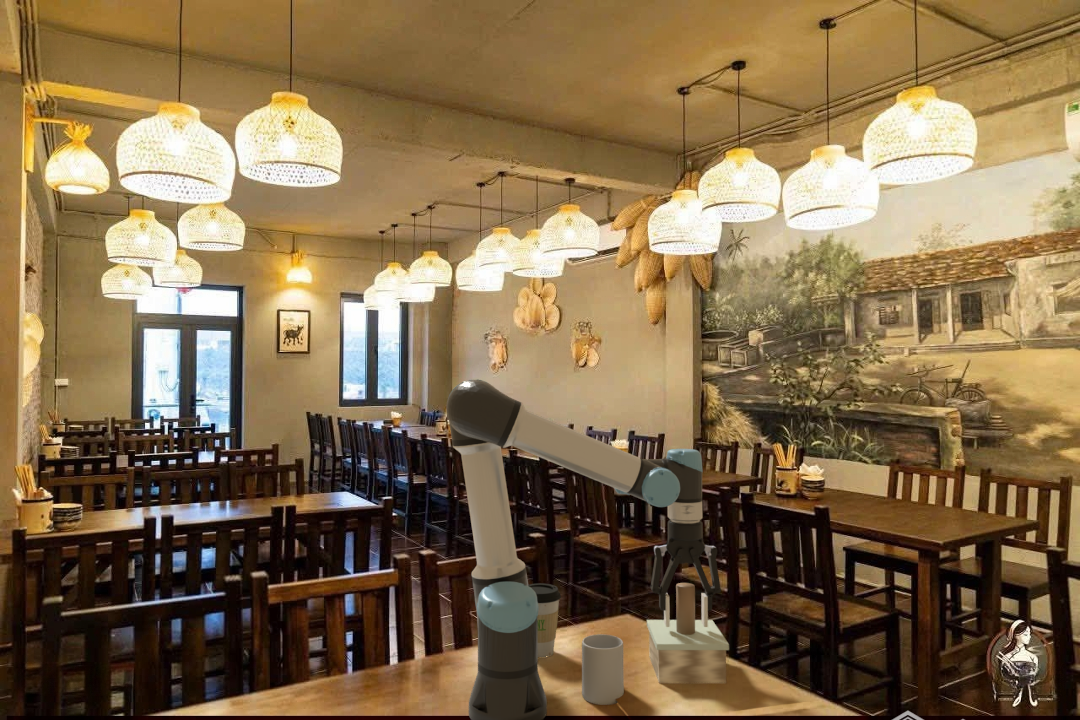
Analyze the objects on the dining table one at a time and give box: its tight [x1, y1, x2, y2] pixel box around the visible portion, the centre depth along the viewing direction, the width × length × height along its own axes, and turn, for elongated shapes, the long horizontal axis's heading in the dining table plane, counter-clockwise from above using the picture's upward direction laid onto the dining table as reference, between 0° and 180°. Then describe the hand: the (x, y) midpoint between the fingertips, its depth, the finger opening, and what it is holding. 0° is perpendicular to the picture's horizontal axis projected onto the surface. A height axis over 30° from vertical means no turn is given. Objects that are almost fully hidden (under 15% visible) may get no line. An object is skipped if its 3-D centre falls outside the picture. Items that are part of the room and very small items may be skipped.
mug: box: [581, 633, 625, 706], centre depth 147 cm, size 12×8×11 cm
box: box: [648, 631, 727, 684], centre depth 156 cm, size 14×14×8 cm
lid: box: [646, 582, 730, 651], centre depth 156 cm, size 15×15×12 cm
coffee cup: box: [528, 582, 562, 658], centre depth 168 cm, size 10×10×15 cm
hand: (685, 624), depth 156 cm, fingers open, 8 cm apart
